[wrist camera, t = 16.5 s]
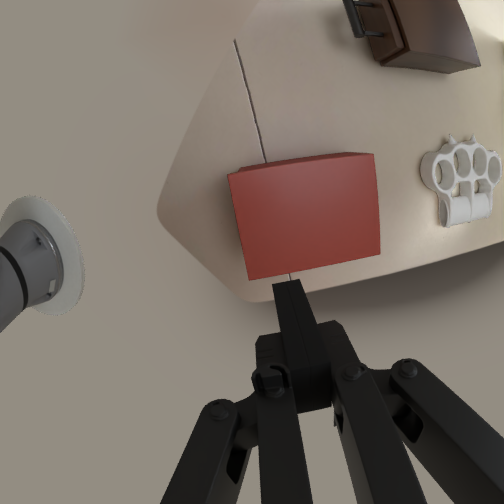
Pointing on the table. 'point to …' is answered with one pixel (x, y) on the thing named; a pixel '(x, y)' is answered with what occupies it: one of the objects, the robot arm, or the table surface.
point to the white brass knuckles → (462, 180)
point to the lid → (306, 214)
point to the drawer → (376, 26)
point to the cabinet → (433, 37)
